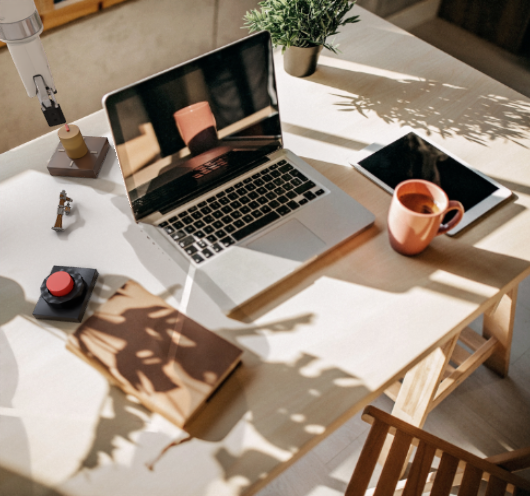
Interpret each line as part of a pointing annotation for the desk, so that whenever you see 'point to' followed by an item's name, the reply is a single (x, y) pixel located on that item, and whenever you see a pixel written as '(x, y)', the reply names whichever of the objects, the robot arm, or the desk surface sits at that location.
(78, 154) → the dimmer knob
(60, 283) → the light button
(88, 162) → the dimmer console
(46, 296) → the switch box
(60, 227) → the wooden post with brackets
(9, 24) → the robot arm
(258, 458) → the desk surface
